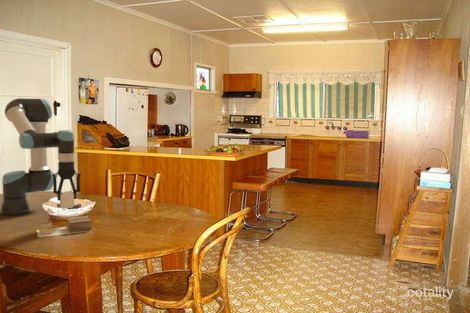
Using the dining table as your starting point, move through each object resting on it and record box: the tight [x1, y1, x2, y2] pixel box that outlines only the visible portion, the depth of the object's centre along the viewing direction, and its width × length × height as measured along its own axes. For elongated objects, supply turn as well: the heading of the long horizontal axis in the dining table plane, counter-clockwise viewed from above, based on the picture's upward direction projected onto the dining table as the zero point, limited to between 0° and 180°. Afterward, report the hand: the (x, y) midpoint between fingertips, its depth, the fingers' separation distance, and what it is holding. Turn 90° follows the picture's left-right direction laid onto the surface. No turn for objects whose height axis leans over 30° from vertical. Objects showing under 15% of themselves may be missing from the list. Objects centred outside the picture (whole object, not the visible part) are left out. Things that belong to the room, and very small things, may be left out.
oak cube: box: [39, 220, 53, 235], centre depth 206 cm, size 5×5×5 cm
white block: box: [61, 189, 74, 209], centre depth 219 cm, size 5×5×8 cm
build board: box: [36, 226, 89, 238], centre depth 210 cm, size 12×24×1 cm, turn 118°
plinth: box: [66, 215, 92, 234], centre depth 213 cm, size 10×10×5 cm
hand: (67, 205), depth 220 cm, fingers closed on white block, 5 cm apart
